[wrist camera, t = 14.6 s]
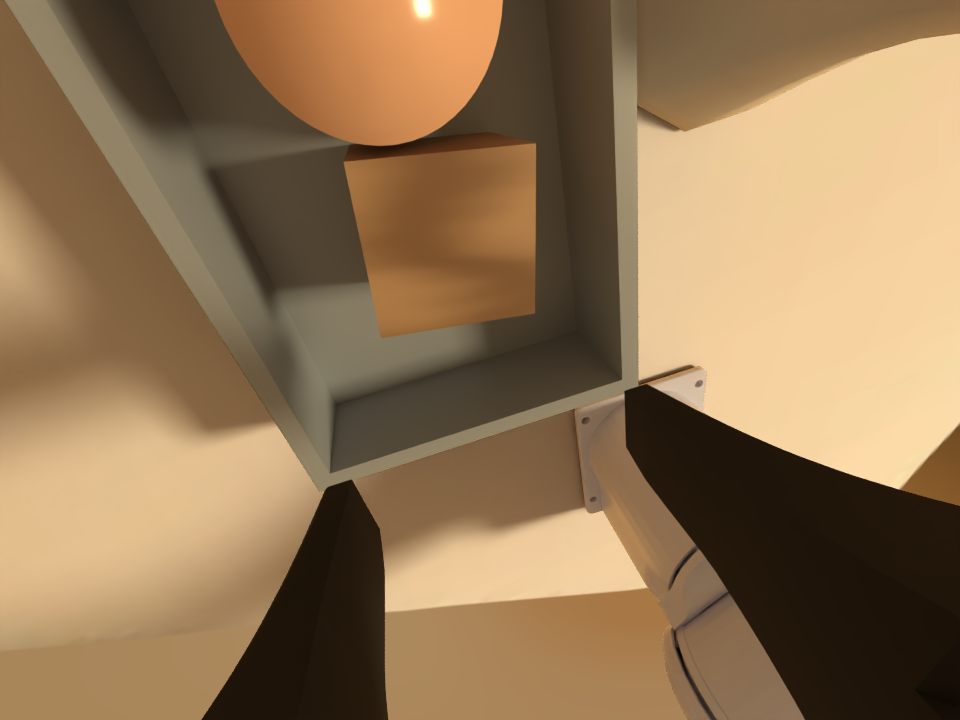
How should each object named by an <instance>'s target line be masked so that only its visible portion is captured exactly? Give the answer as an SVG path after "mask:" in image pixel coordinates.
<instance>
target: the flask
mask: <svg viewBox="0 0 960 720" xmlns="http://www.w3.org/2000/svg"><path fill="white" fill-rule="evenodd" d="M959 33H960V0H637V105H638V106H639V107H641V108H643V109H645V110H647V111H648V112H650V113H652V114H654V115H656V116H657V117H659V118H661V119H663V120H665V121H667V122H668V123H670V124H672V125H674V126H676V127H677V128H679V129H681V130H683V131H688V130H691V129H694V128H697V127H700V126H703V125H706V124H709V123H711V122H714V121H717V120H720V119H723V118H726V117H729V116H732V115H735V114H738V113H741V112H744V111H747V110H749V109H752V108H754V107H756V106H758V105H760V104H763V103H765V102H767V101H769V100H771V99H773V98H775V97H777V96H779V95H781V94H783V93H785V92H787V91H789V90H791V89H793V88H795V87H796V86H798V85H800V84H802V83H804V82H806V81H808V80H810V79H813V78H815V77H817V76H819V75H822V74H824V73H826V72H828V71H831V70H833V69H835V68H837V67H839V66H842V65H844V64H846V63H848V62H851V61H853V60H855V59H857V58H859V57H862V56H864V55H866V54H868V53H871V52H874V51H878V50H881V49H885V48H888V47H892V46H895V45H899V44H902V43H906V42H909V41H913V40H916V39H921V38H929V37H936V36H944V35H951V34H959Z"/></svg>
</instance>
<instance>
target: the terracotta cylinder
mask: <svg viewBox="0 0 960 720" xmlns="http://www.w3.org/2000/svg"><path fill="white" fill-rule="evenodd" d="M214 1H215V3H216V6H217V8H218V11H219V13H220V16H221V18H222V21H223V23H224V26H225V28H226V30H227V32H228V34H229V36H230V37H231V39H232V41H233V43H234V45H235V47H236V49H237V50H238V52H239V53H240V55H241V57H242V58H243V60H244V61H245V63H246V64H247V66H248V67H249V69H250V70H251V71H252V73H253V74H254V75H255V76H256V78H257V79H258V80H259V81H260V83H261V84H262V85H263V86H264V87H265V88H266V89H267V90H268V91H269V93H270V94H271V95H272V96H273V97H274V98H275V99H276V100H277V101H278V102H279V103H281V104H282V105H283V106H284V107H285V108H287V109H288V110H289V111H290V112H292V113H293V114H294V115H295V116H296V117H298V118H300V119H301V120H303V121H304V122H306V123H307V124H309V125H310V126H312V127H314V128H316V129H318V130H320V131H322V132H324V133H326V134H328V135H330V136H333V137H336V138H339V139H342V140H345V141H348V142H353V143H358V144H362V145H375V146H385V145H397V144H401V143H406V142H410V141H414V140H416V139H419V138H421V137H424V136H426V135H428V134H430V133H432V132H434V131H435V130H437V129H439V128H440V127H442V126H443V125H444V124H446V123H447V122H448V121H450V120H451V119H452V118H453V117H454V116H455V115H456V114H457V113H458V112H459V111H460V110H461V109H462V108H463V107H464V106H465V105H466V104H467V102H468V101H469V100H470V98H471V97H472V96H473V94H474V93H475V91H476V90H477V88H478V86H479V85H480V83H481V81H482V79H483V77H484V76H485V74H486V71H487V69H488V66H489V64H490V61H491V59H492V56H493V53H494V49H495V46H496V43H497V39H498V34H499V29H500V23H501V17H502V5H503V0H214Z"/></svg>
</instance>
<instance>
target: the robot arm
mask: <svg viewBox="0 0 960 720" xmlns="http://www.w3.org/2000/svg"><path fill="white" fill-rule="evenodd" d="M706 379H707V371H706V370H705V369H704V368H702V367H700V366H698V367H694V368H691V369H688V370H685V371H682V372H679V373H676V374H672V375H669V376H666V377H663V378H660V379H657V380H654V381H651V382H648V383H645V384H642V385H639V386H638V387H635V388H631V389H628V390H625V391H624V393H622V394H619V395H615V396H612V397H609V398H606V399H603V400H600V401H597V402H594V403H591V404H588V405H585V406H582V407H578V408H576V409H575V411H574V416H575V424H576V433H577V442H578V450H579V459H580V467H581V476H582V485H583V493H584V502H585V508H586V510H587V512H588V513H596V512H599V511H602V510H603V512H604V513H605V515H606V517H607V518H608V520H609V522H610V524H611V525H612V527H613V529H614V531H615V532H616V534H617V536H618V537H619V539H620V541H621V543H622V544H623V546H624V548H625V550H626V551H627V553H628V555H629V556H630V558H631V560H632V562H633V563H634V565H635V567H636V568H637V570H638V572H639V574H640V575H641V577H642V579H643V581H644V582H645V584H646V585H647V587H648V588H649V589H650V591H651V592H652V593H653V594H654V595H655V596H656V597H657V598H658V599H659V600H660V601H659V605H660V607H661V608H662V610H663V612H664V614H665V615H666V617H667V619H668V620H669V622H670V625H669V626H668V627H667V628H666V629H665V631H664V634H663V651H664V658H665V666H666V671H667V675H668V678H669V681H670V683H671V686H672V689H673V691H674V694H675V696H676V698H677V700H678V702H679V704H680V706H681V708H682V710H683V712H684V714H685V716H686V717H687V719H688V720H960V506H958V505H954V504H950V503H946V502H942V501H938V500H934V499H930V498H927V497H923V496H919V495H916V494H912V493H909V492H905V491H902V490H898V489H895V488H892V487H889V486H885V485H882V484H879V483H876V482H872V481H869V480H866V479H863V478H859V477H856V476H853V475H850V474H847V473H844V472H841V471H838V470H835V469H833V468H830V467H827V466H824V465H822V464H819V463H816V462H814V461H811V460H808V459H805V458H803V457H800V456H797V455H795V454H792V453H790V452H787V451H785V450H782V449H780V448H778V447H775V446H773V445H771V444H768V443H766V442H764V441H761V440H759V439H757V438H754V437H752V436H750V435H748V434H745V433H743V432H741V431H739V430H737V429H735V428H733V427H730V426H728V425H726V424H724V423H722V422H720V421H718V420H716V419H714V418H712V417H710V416H708V415H706V414H705V413H704V412H703V407H704V398H705V388H706ZM585 417H586V419H584V420H582V419H583V418H585ZM202 720H388V713H387V702H386V690H385V569H384V560H383V551H382V543H381V535H380V529H379V527H378V525H377V523H376V522H375V520H374V518H373V516H372V515H371V513H370V511H369V509H368V507H367V506H366V504H365V502H364V500H363V499H362V497H361V495H360V493H359V492H358V490H357V488H356V486H355V484H354V483H353V481H352V479H351V480H347V481H344V482H341V483H338V484H335V485H332V486H329V487H327V488H326V490H325V492H324V494H323V496H322V499H321V501H320V503H319V506H318V508H317V510H316V512H315V515H314V517H313V519H312V522H311V524H310V526H309V528H308V531H307V533H306V535H305V537H304V540H303V542H302V544H301V546H300V548H299V550H298V552H297V554H296V557H295V559H294V561H293V563H292V565H291V567H290V569H289V571H288V573H287V575H286V577H285V579H284V581H283V583H282V585H281V587H280V589H279V591H278V593H277V595H276V597H275V599H274V601H273V602H272V604H271V606H270V608H269V610H268V612H267V614H266V616H265V618H264V620H263V621H262V623H261V625H260V627H259V628H258V630H257V632H256V634H255V636H254V637H253V639H252V641H251V643H250V644H249V646H248V648H247V649H246V651H245V653H244V654H243V656H242V658H241V659H240V661H239V662H238V664H237V666H236V667H235V669H234V671H233V672H232V674H231V676H230V677H229V679H228V681H227V682H226V683H225V685H224V687H223V688H222V690H221V691H220V693H219V694H218V696H217V697H216V699H215V700H214V702H213V703H212V705H211V706H210V708H209V709H208V711H207V712H206V714H205V715H204V717H203V718H202Z"/></svg>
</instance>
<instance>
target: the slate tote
mask: <svg viewBox="0 0 960 720" xmlns="http://www.w3.org/2000/svg"><path fill="white" fill-rule="evenodd" d="M5 2H6V4H7V5H8V7H9V8H10V10H11V11H12V13H13V14H14V16H15V18H16V19H17V21H18V22H19V24H20V25H21V27H22V29H23V30H24V32H25V33H26V35H27V36H28V38H29V39H30V41H31V43H32V44H33V46H34V47H35V49H36V50H37V52H38V53H39V55H40V57H41V58H42V60H43V61H44V63H45V64H46V66H47V67H48V69H49V71H50V72H51V74H52V75H53V77H54V78H55V80H56V82H57V83H58V85H59V86H60V88H61V89H62V91H63V92H64V94H65V96H66V97H67V99H68V100H69V102H70V103H71V105H72V106H73V108H74V110H75V111H76V113H77V114H78V116H79V117H80V119H81V121H82V122H83V124H84V125H85V127H86V128H87V130H88V131H89V133H90V135H91V136H92V138H93V139H94V141H95V142H96V144H97V145H98V147H99V149H100V150H101V152H102V153H103V155H104V156H105V158H106V160H107V161H108V163H109V164H110V166H111V167H112V169H113V170H114V172H115V174H116V175H117V177H118V178H119V180H120V181H121V183H122V184H123V186H124V188H125V189H126V191H127V192H128V194H129V195H130V197H131V198H132V200H133V202H134V203H135V205H136V206H137V208H138V209H139V211H140V213H141V214H142V216H143V217H144V219H145V220H146V222H147V223H148V225H149V227H150V228H151V230H152V231H153V233H154V234H155V236H156V237H157V239H158V241H159V242H160V244H161V245H162V247H163V248H164V250H165V252H166V253H167V255H168V256H169V258H170V259H171V261H172V262H173V264H174V266H175V267H176V269H177V270H178V272H179V273H180V275H181V276H182V278H183V280H184V281H185V283H186V284H187V286H188V287H189V289H190V290H191V292H192V294H193V295H194V297H195V298H196V300H197V301H198V303H199V305H200V306H201V308H202V309H203V311H204V312H205V314H206V315H207V317H208V319H209V320H210V322H211V323H212V325H213V326H214V328H215V329H216V331H217V333H218V334H219V336H220V337H221V339H222V340H223V342H224V344H225V345H226V347H227V348H228V350H229V351H230V353H231V354H232V356H233V358H234V359H235V361H236V362H237V364H238V365H239V367H240V368H241V370H242V372H243V373H244V375H245V376H246V378H247V379H248V381H249V382H250V384H251V386H252V387H253V389H254V390H255V392H256V393H257V395H258V397H259V398H260V400H261V401H262V403H263V404H264V406H265V407H266V409H267V411H268V412H269V414H270V415H271V417H272V418H273V420H274V421H275V423H276V425H277V426H278V428H279V429H280V431H281V432H282V434H283V436H284V437H285V439H286V440H287V442H288V443H289V445H290V446H291V448H292V450H293V451H294V453H295V454H296V456H297V457H298V459H299V460H300V462H301V464H302V465H303V467H304V468H305V470H306V471H307V473H308V474H309V476H310V478H311V479H312V481H313V482H314V484H315V485H316V487H317V489H318V490H319V491H322V490H326V488H327V487H329V486H332V485H335V484H338V483H341V482H344V481H347V480H351V479H352V481H353V480H356V479H360V478H363V477H366V476H369V475H372V474H375V473H378V472H381V471H384V470H387V469H390V468H393V467H397V466H400V465H403V464H406V463H409V462H412V461H415V460H418V459H421V458H424V457H427V456H430V455H434V454H437V453H440V452H443V451H446V450H449V449H452V448H455V447H458V446H461V445H464V444H467V443H471V442H474V441H477V440H480V439H483V438H486V437H489V436H492V435H495V434H498V433H501V432H504V431H508V430H511V429H514V428H517V427H520V426H523V425H526V424H529V423H532V422H535V421H538V420H541V419H545V418H548V417H551V416H554V415H557V414H560V413H563V412H566V411H569V410H572V409H575V408H578V407H582V406H585V405H588V404H591V403H594V402H597V401H600V400H603V399H606V398H609V397H612V396H615V395H619V394H622V393H624V391H625V390H628V389H631V388H635V387H638V181H637V0H503V5H502V17H501V23H500V29H499V34H498V39H497V43H496V46H495V49H494V53H493V56H492V59H491V61H490V64H489V66H488V69H487V71H486V74H485V76H484V77H483V79H482V81H481V83H480V85H479V86H478V88H477V90H476V91H475V93H474V94H473V96H472V97H471V98H470V100H469V101H468V102H467V104H466V105H465V106H464V107H463V108H462V109H461V110H460V111H459V112H458V113H457V114H456V115H455V116H454V117H453V118H452V119H451V120H450V121H448V122H447V123H446V124H444V125H443V126H442V127H440V128H439V129H437V130H435V131H434V132H432V133H430V134H428V135H426V136H424V137H421V138H428V137H439V136H450V135H461V134H472V133H483V132H493V133H497V134H501V135H505V136H509V137H513V138H517V139H521V140H525V141H529V142H533V143H536V244H535V313H534V314H528V315H522V316H516V317H510V318H503V319H497V320H491V321H485V322H479V323H473V324H466V325H460V326H454V327H448V328H442V329H436V330H429V331H423V332H417V333H411V334H405V335H399V336H392V337H386V338H381V335H380V331H379V326H378V321H377V317H376V312H375V307H374V302H373V298H372V293H371V288H370V284H369V279H368V274H367V270H366V265H365V260H364V256H363V251H362V246H361V241H360V237H359V232H358V227H357V223H356V218H355V213H354V209H353V204H352V199H351V195H350V190H349V185H348V180H347V176H346V171H345V166H344V159H345V156H346V154H347V151H348V148H349V145H351V144H358V143H353V142H348V141H345V140H342V139H339V138H336V137H333V136H330V135H328V134H326V133H324V132H322V131H320V130H318V129H316V128H314V127H312V126H310V125H309V124H307V123H306V122H304V121H303V120H301V119H300V118H298V117H296V116H295V115H294V114H293V113H292V112H290V111H289V110H288V109H287V108H285V107H284V106H283V105H282V104H281V103H279V102H278V101H277V100H276V99H275V98H274V97H273V96H272V95H271V94H270V93H269V91H268V90H267V89H266V88H265V87H264V86H263V85H262V84H261V83H260V81H259V80H258V79H257V78H256V76H255V75H254V74H253V73H252V71H251V70H250V69H249V67H248V66H247V64H246V63H245V61H244V60H243V58H242V57H241V55H240V53H239V52H238V50H237V49H236V47H235V45H234V43H233V41H232V39H231V37H230V36H229V34H228V32H227V30H226V28H225V26H224V23H223V21H222V18H221V16H220V13H219V11H218V8H217V6H216V3H215V1H214V0H5Z"/></svg>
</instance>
